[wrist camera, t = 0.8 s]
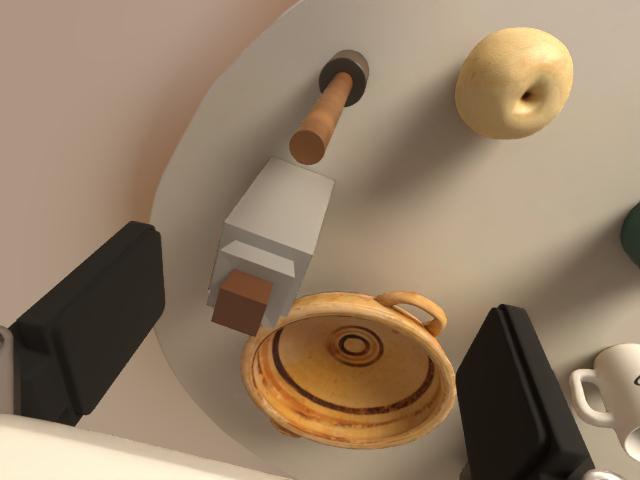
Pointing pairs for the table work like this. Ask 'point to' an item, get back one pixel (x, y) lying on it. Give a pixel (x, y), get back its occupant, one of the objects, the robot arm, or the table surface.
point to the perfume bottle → (267, 246)
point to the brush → (330, 105)
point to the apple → (514, 83)
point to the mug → (613, 394)
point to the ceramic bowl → (352, 370)
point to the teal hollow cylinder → (632, 235)
